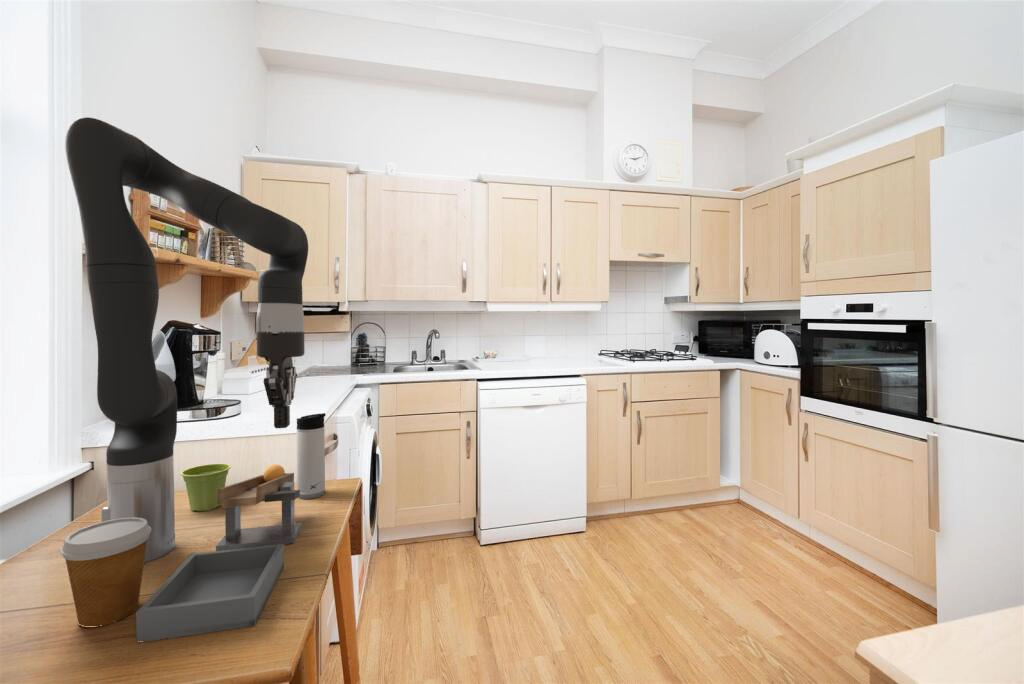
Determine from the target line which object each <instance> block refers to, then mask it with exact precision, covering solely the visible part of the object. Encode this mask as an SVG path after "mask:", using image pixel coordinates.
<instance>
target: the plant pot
mask: <svg viewBox="0 0 1024 684" xmlns="http://www.w3.org/2000/svg"><path fill="white" fill-rule="evenodd" d="M231 467H232V466H231V464H228V463H210V464H201V465H196V466H193V467H188V468H186V469H184V470H182V471H181V472H180V476H182V480H183V481H184V484H185V487H186V491H187V496H188V504H189V509H190V510H191V511H193V512H194V511H198V512H204V511H209V510H213V509H216V508H217V507H218V506H219V505H220V506H222V504H217V497H218V489H220V488H223V487H226V483H227V482H226V481H227V476H228V475H229V470H230V469H231Z"/></svg>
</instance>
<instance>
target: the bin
mask: <svg viewBox="0 0 1024 684" xmlns="http://www.w3.org/2000/svg"><path fill="white" fill-rule="evenodd" d="M284 546H285V544H277V545H268V546H259V547H249V548H240V549H231V550H221V551H216V550H213V551H205V552H204V551H203V552H197V553H191V554H190V555H189V556H188V557H187V558H186V559H185V560H184V561H183V562H182V563H181V564H180V566H178V567H177V569H176V570H175V571H174V572H173V573H172V574H171V575H170V576H169V577H168V578H167V579H166V580H165V582H163V583H162V584H161V585H160V586H159V587H158V589H157V590H156V591H155V592H154V593H153V594H152V595H151V596H150V597H149V598H148V599H147V600H146V601H145V602H144V604H142V606H140V608H139V609H138V610H136V614H135V615H136V621H135V622H136V643H137V642H138V641H139V642H140V641H148V642H155V641H161V640H160V639H162V640H166V639H165V638H168V639H174V638H181V636H182V637H188V636H195V635H201V634H202V635H203V634H208V633H215V632H221V631H228V630H235V629H242V628H243V629H244V628H248V627H255V626H256V625H257V622H258V620H259V618H260V616H261V614H262V613H263V611H264V608H265V606H266V605H267V602H268V600H269V598H270V596H271V594H272V592H273V590H274V587H275V586H276V583H277V582H278V580H279V578H280V575H281V574H282V572H283V570H284V568H285V555H284V553H285V551H284ZM154 640H155V641H154Z"/></svg>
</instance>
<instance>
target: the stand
mask: <svg viewBox="0 0 1024 684" xmlns="http://www.w3.org/2000/svg"><path fill="white" fill-rule="evenodd" d="M290 490H295V481H294V482H285V483H284V485H283V486H282V491H290ZM224 508H225V510H224V515H225V516H224V517H225V518H224V521H225V522H224V525H225V535H224V537H222V539H221V540H220V541H219V542H218V543H217V544H216V545H215V551H221V550H231V549H240V548H249V547H259V546H268V545H277V544H284V545H291V544H290V543H293V544H295V542H296V540H297V538H298V536H299V534H300V532H301V530H302V527H303V523H302V522H298V523H296V522H295V519H296V517H295V516H296V515H295V514H296V513H295V511H296V510H295V500H286V501H281V524H275V525H265V526H264V525H263V526H257V527H255V526H254V527H247V528H246V527H245V528H241V527H242V525H241V523H242V522H241V520H242V519H241V518H242V517H241V515H242V514H241V506H234V507H224Z"/></svg>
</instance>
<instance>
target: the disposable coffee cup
mask: <svg viewBox="0 0 1024 684" xmlns="http://www.w3.org/2000/svg"><path fill="white" fill-rule="evenodd" d="M150 533H151V527H149V526H148V523H147V521H146V519H143V518H136V517H132V518H120V519H113V520H108V521H104V522H101V521H100V522H96V523H94V524H90V525H87V526H85V527H81V528H79V529H77V530H75V531H73V532H71V533H70V534H68V535H67V536H66V537H65V538H64V542H63V545H62V546H61V547H60V549H59V552H60V554H61V556H62V557H63V559H64V560H65V564H66V568H67V573H68V579H69V584H70V588H71V592H72V597H73V603H74V607H75V613H76V618H77V622H78V623H79V624H81V625H84V626H100V625H104V626H106V625H105V624H108V625H110V624H109V623H111V624H113V623H112V622H114V621H116V622H118V621H117V620H119V619H121V620H123V619H125V618H126V616H127V615H128V616H130V615H131V614H133V613H134V612H135V611H136V610H137V609H138V607H139V603H140V593H141V589H142V588H141V587H142V581H143V580H142V579H143V571H144V566H145V562H144V559H145V551H146V544H147V539H148V537H149V534H150ZM135 609H136V610H135ZM134 610H135V611H134ZM133 611H134V612H133ZM132 612H133V613H132ZM129 614H130V615H129ZM128 616H127V617H128ZM124 617H125V618H124ZM122 618H123V619H122ZM119 621H120V620H119ZM114 623H115V622H114ZM79 624H78V625H79Z"/></svg>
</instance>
